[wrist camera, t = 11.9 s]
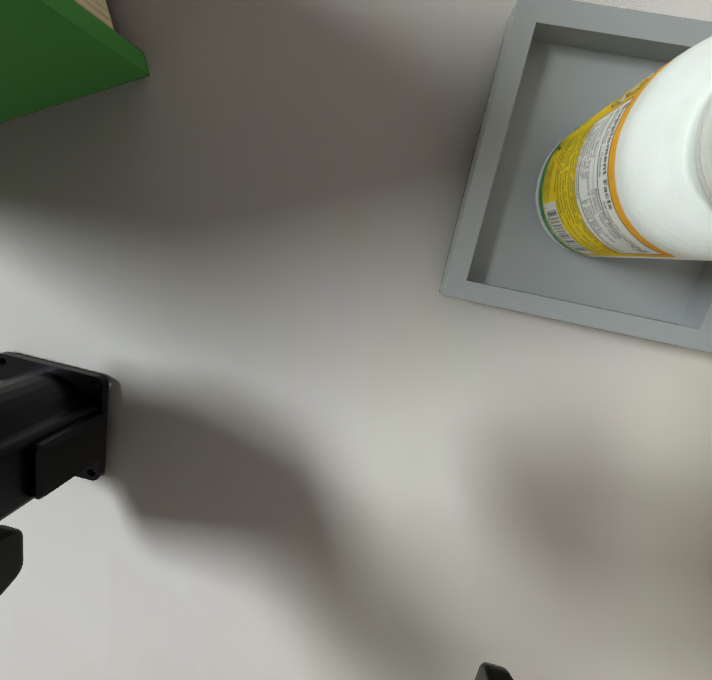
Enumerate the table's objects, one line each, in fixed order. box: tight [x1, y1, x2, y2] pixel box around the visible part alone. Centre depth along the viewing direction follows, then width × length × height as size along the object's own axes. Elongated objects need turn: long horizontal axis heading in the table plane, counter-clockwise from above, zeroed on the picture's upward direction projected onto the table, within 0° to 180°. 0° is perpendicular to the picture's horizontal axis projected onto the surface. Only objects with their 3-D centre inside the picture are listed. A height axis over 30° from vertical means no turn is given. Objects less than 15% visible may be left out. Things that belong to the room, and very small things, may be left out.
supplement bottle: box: [535, 36, 712, 261], centre depth 11 cm, size 5×5×10 cm
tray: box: [439, 0, 712, 353], centre depth 16 cm, size 11×11×2 cm
